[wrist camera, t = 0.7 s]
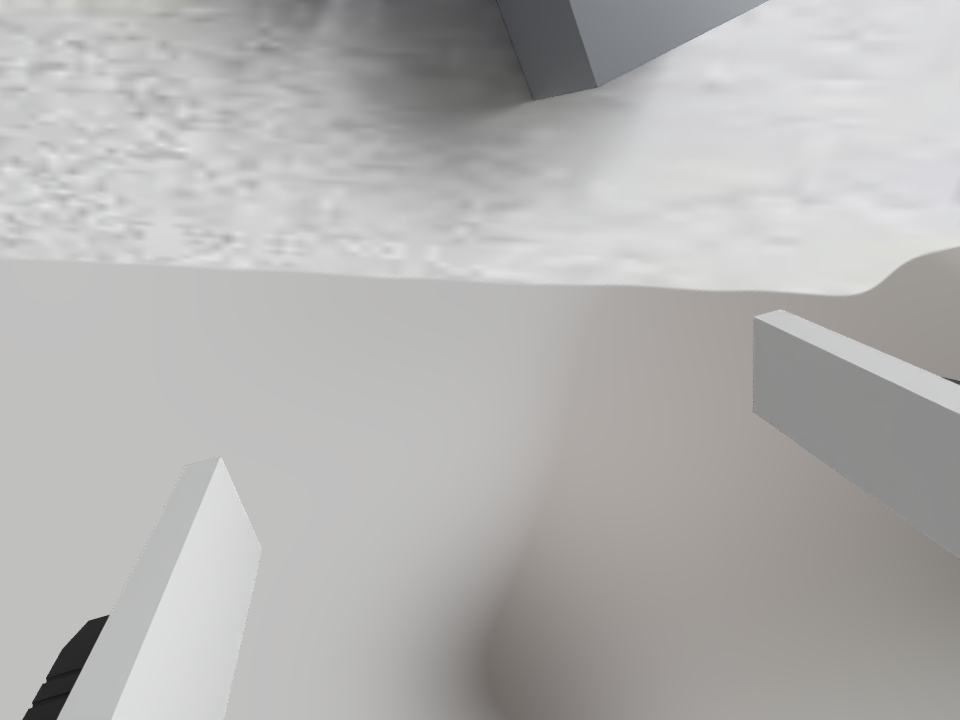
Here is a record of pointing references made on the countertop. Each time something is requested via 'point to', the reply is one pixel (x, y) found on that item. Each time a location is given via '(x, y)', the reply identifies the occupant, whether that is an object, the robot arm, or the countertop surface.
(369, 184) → the countertop surface
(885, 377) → the robot arm
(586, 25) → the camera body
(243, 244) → the countertop surface
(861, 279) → the countertop surface
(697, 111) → the countertop surface
